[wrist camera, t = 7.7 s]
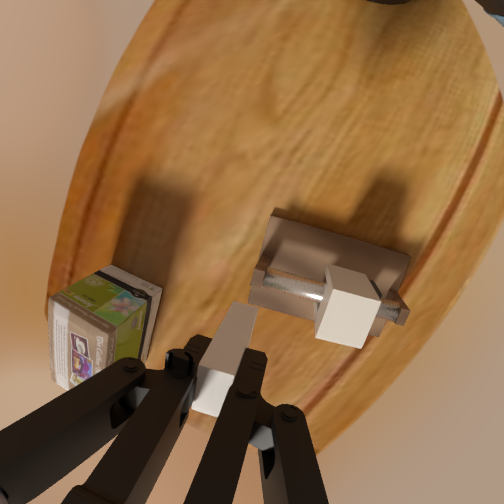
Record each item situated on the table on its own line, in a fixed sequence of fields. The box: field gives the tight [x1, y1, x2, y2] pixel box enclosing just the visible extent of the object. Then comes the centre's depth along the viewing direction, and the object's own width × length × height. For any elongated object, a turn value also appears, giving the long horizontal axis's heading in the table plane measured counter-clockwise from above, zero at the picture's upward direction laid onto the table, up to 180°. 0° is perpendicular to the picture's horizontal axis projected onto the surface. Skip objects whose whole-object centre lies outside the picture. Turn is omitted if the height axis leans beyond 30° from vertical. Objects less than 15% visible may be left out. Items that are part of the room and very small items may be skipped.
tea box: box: [48, 265, 162, 391], centre depth 40 cm, size 15×10×15 cm, turn 160°
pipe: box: [262, 267, 400, 322], centre depth 34 cm, size 3×16×3 cm, turn 77°
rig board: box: [248, 215, 411, 337], centre depth 37 cm, size 12×19×7 cm, turn 77°
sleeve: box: [313, 263, 381, 349], centre depth 33 cm, size 5×5×9 cm
